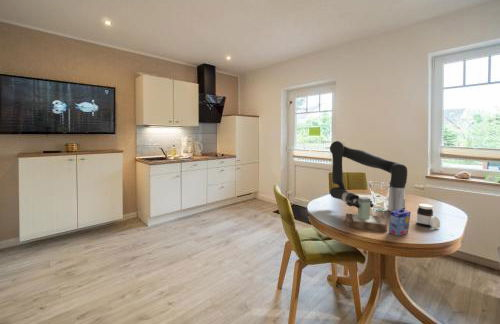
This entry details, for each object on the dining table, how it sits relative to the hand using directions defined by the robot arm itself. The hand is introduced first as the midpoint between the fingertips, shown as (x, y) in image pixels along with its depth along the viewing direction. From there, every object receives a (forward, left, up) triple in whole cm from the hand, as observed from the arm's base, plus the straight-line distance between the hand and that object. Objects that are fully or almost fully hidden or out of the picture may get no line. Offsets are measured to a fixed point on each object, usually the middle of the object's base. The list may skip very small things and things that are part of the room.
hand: (365, 206), depth 145 cm
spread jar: (-35, -11, -12) cm, 39 cm away
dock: (0, -2, -12) cm, 12 cm away
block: (+1, -2, -8) cm, 8 cm away
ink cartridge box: (-16, +5, -12) cm, 21 cm away
